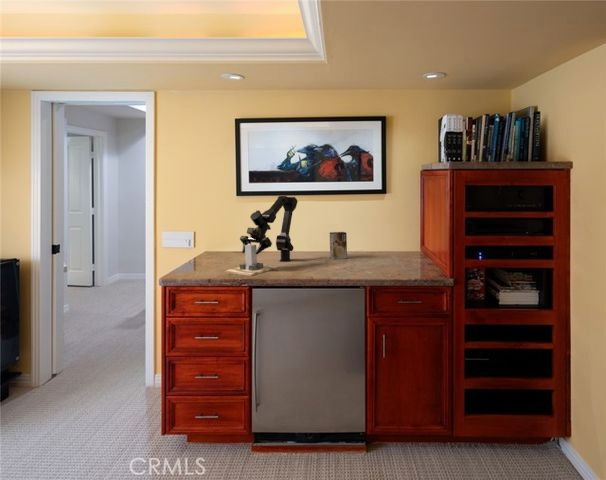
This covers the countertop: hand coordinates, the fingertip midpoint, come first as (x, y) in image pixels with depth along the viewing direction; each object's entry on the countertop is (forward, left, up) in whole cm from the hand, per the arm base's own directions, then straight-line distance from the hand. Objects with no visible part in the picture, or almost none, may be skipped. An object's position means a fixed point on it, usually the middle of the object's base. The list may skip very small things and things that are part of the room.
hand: (249, 253), depth 258 cm
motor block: (-1, +1, -9) cm, 9 cm away
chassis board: (-1, +1, -10) cm, 10 cm away
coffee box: (-39, +48, -10) cm, 63 cm away
